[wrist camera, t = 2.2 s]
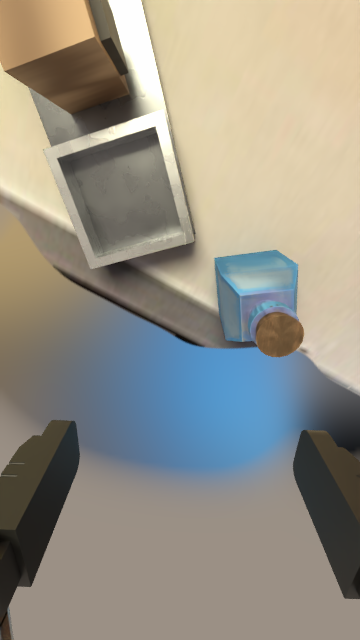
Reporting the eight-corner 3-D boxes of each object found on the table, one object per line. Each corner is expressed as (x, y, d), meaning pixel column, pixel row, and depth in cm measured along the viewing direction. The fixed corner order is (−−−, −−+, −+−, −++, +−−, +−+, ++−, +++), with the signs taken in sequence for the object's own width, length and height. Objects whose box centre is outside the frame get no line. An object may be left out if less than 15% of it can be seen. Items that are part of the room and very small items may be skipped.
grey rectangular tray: (88, -224, 17) (61, -339, 13) (195, 234, 28) (196, 241, 24) (-56, -151, 18) (-117, -236, 14) (101, 259, 29) (88, 269, 25)
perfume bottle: (275, 306, 31) (324, 370, 20) (219, 313, 31) (235, 379, 20) (276, 249, 28) (331, 287, 17) (214, 257, 29) (230, 299, 18)
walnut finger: (119, 24, 20) (72, -88, 12) (136, 91, 22) (105, 32, 14) (48, 51, 21) (-41, -38, 13) (70, 114, 23) (4, 71, 14)
